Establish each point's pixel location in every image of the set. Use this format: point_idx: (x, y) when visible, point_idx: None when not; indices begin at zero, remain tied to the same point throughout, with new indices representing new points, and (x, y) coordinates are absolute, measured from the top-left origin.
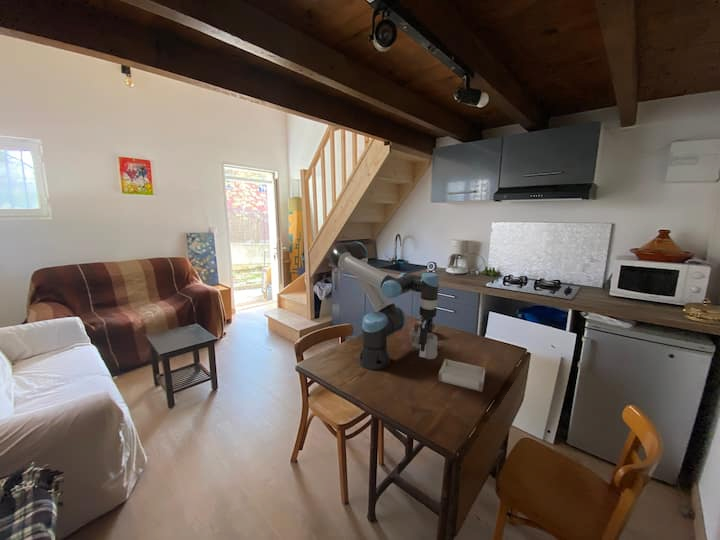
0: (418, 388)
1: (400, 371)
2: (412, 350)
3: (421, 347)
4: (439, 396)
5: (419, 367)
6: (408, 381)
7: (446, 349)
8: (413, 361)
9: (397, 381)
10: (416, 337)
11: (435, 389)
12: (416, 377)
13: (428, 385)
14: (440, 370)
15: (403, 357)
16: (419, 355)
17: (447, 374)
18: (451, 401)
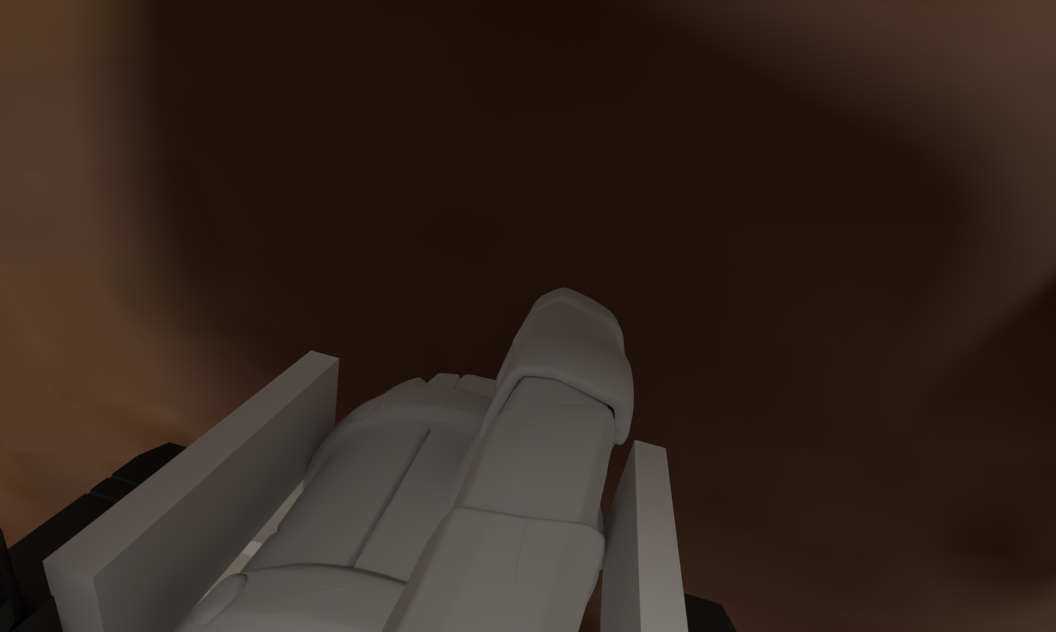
0: (37, 286)
1: (236, 37)
2: (967, 157)
3: (67, 521)
4: (40, 450)
5: (426, 288)
6: (87, 174)
7: (997, 628)
8: (563, 201)
9: (16, 35)
10: (470, 470)
11: (108, 429)
12: (203, 260)
13: (132, 376)
14: (250, 544)
15: (663, 16)
16: (300, 360)
17: (207, 592)
18: (36, 520)
